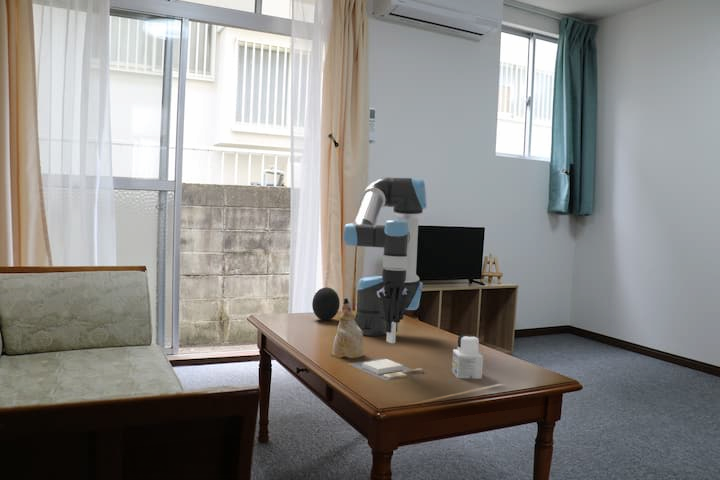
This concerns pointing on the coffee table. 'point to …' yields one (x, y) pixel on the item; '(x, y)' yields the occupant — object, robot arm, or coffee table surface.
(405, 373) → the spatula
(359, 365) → the mat
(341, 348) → the figurine
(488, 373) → the coffee table surface
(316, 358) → the coffee table surface
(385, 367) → the tile
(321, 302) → the decorative egg
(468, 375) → the container
